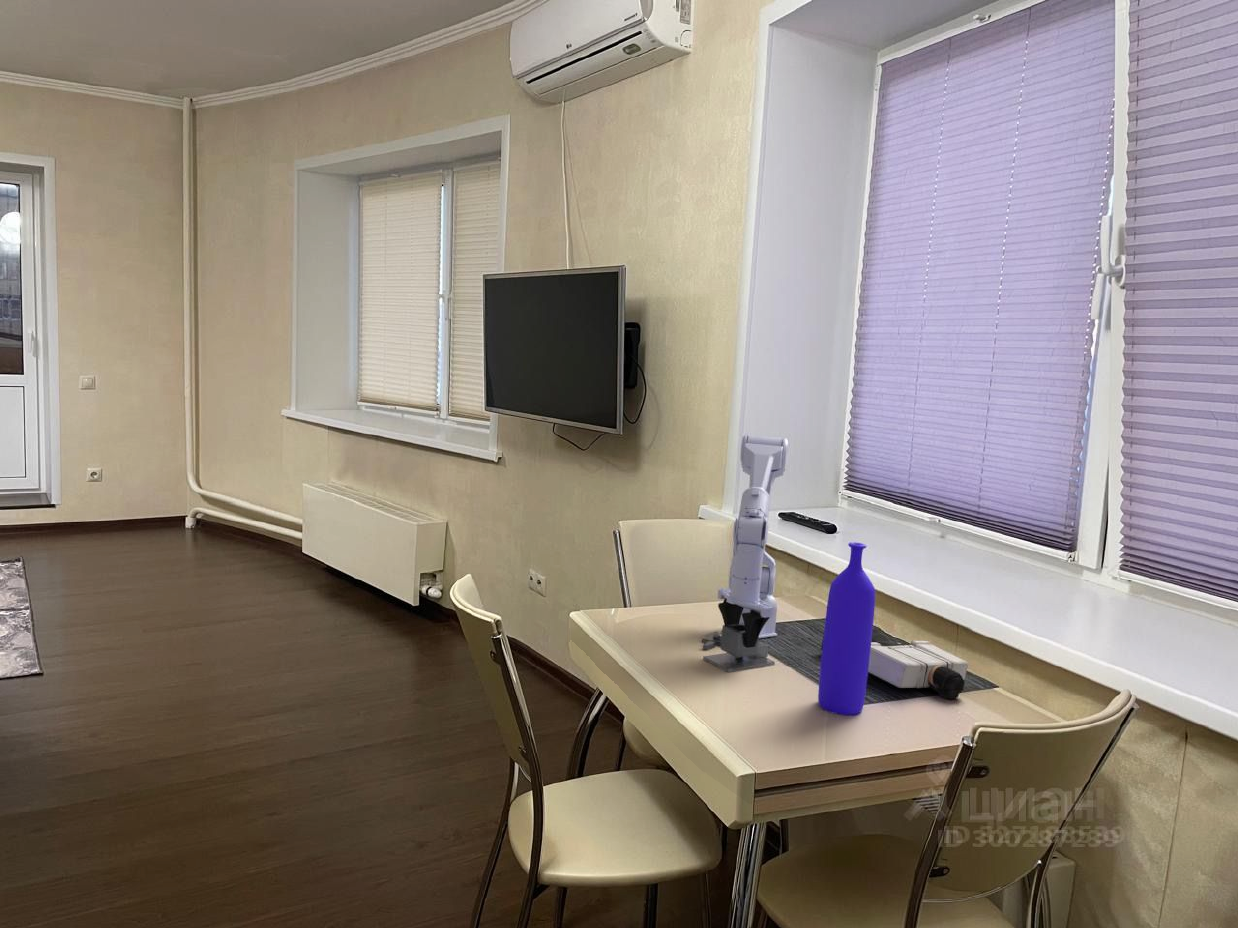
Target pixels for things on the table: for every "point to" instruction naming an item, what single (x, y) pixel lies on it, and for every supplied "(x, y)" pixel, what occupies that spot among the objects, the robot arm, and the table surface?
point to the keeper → (741, 660)
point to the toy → (916, 666)
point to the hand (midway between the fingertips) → (740, 642)
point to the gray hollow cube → (736, 641)
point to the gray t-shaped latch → (712, 640)
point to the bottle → (847, 639)
